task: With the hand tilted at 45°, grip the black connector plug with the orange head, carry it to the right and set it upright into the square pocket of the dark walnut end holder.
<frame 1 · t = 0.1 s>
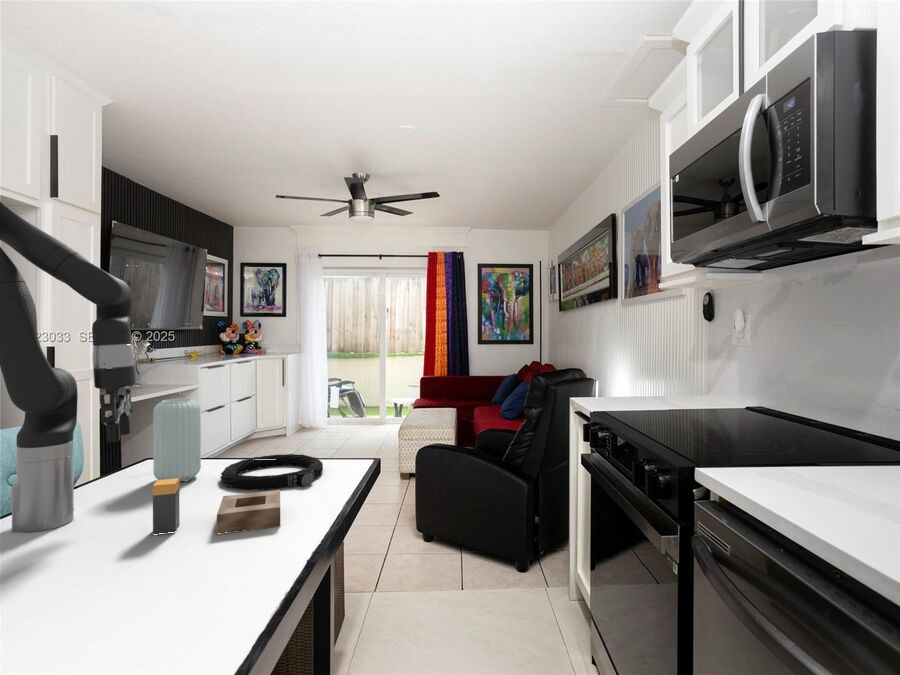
hand: (119, 438, 106), 17 cm above the table, tool pointing down, fingers open, 8 cm apart
connector plug: (166, 530, 98), on the table
end holder: (250, 519, 103), on the table
vase: (177, 480, 133), on the table
cable lock: (276, 478, 136), on the table
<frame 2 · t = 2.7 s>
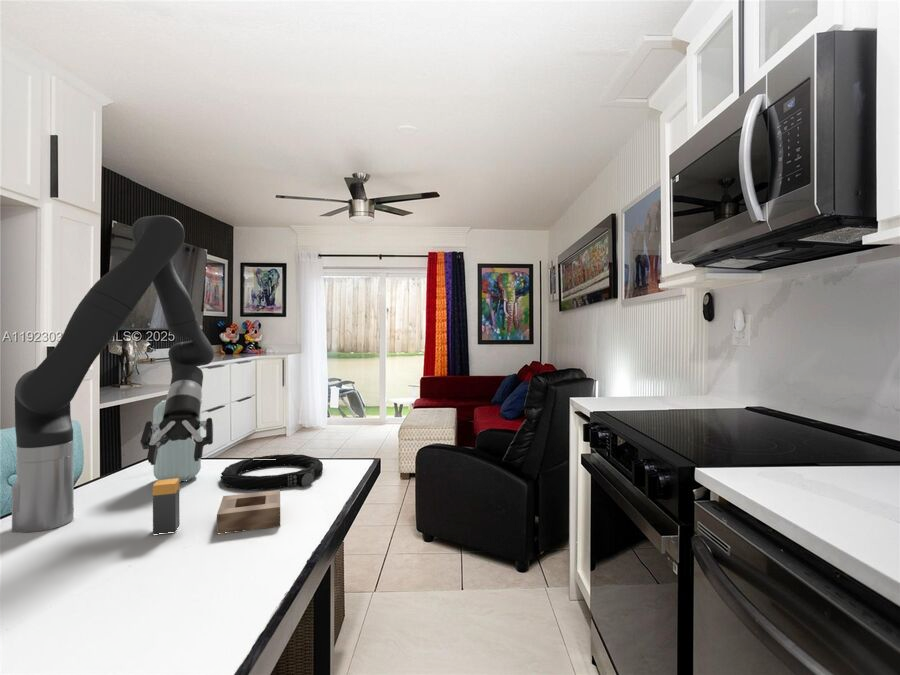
hand: (174, 461, 105), 12 cm above the table, tool tilted 45°, fingers open, 8 cm apart
nothing on the table moved.
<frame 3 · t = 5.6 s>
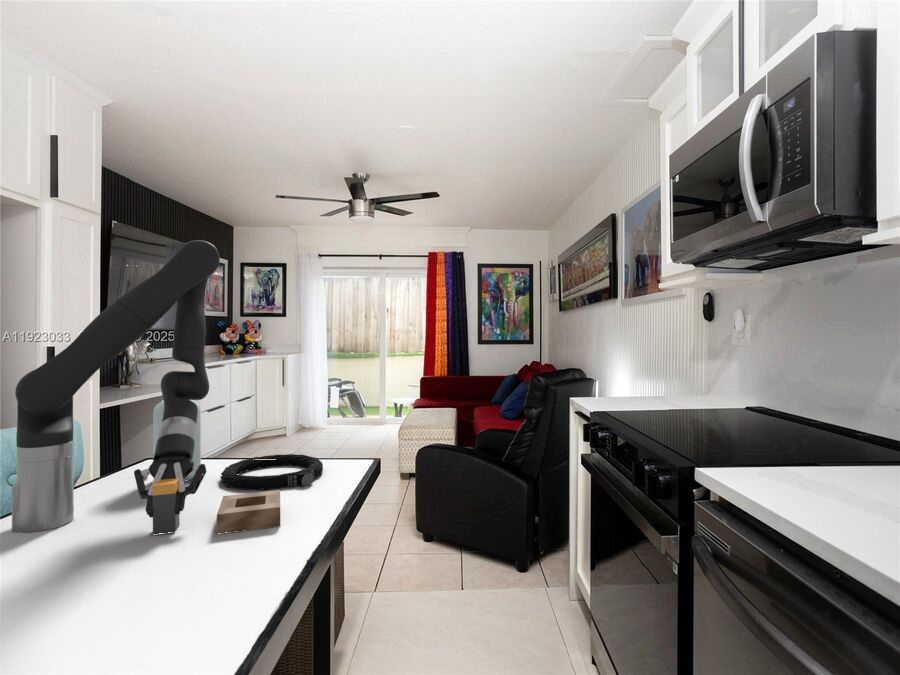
hand: (164, 513, 96), 4 cm above the table, tool tilted 45°, fingers closed on connector plug, 4 cm apart
connector plug: (166, 530, 98), on the table, touching gripper
everything else where it was.
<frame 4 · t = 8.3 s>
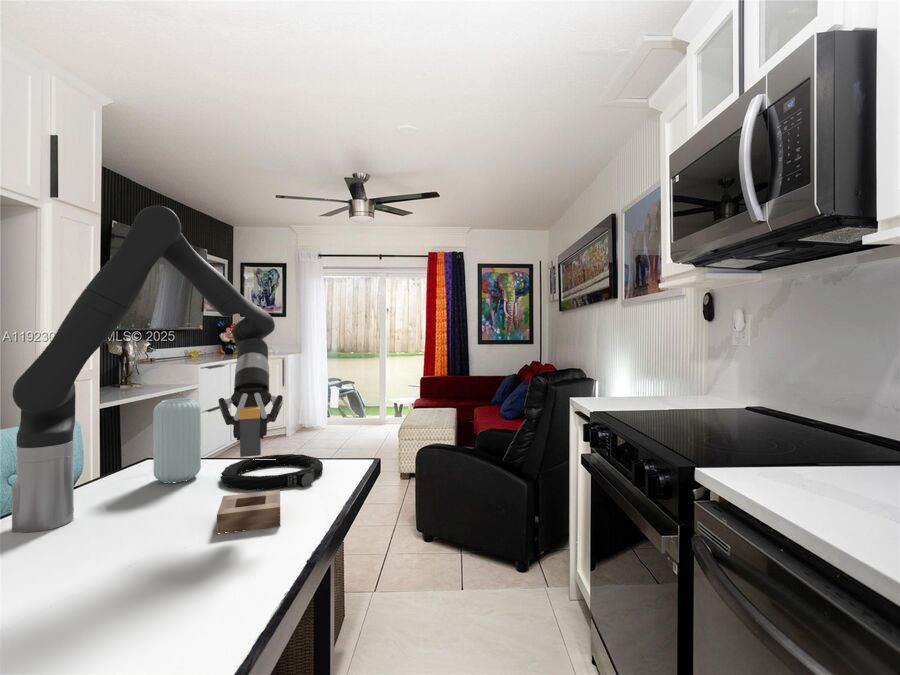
hand: (250, 437, 101), 18 cm above the table, tool tilted 45°, fingers closed on connector plug, 4 cm apart
connector plug: (250, 454, 103), point 14 cm above the table, touching gripper
everything else where it was.
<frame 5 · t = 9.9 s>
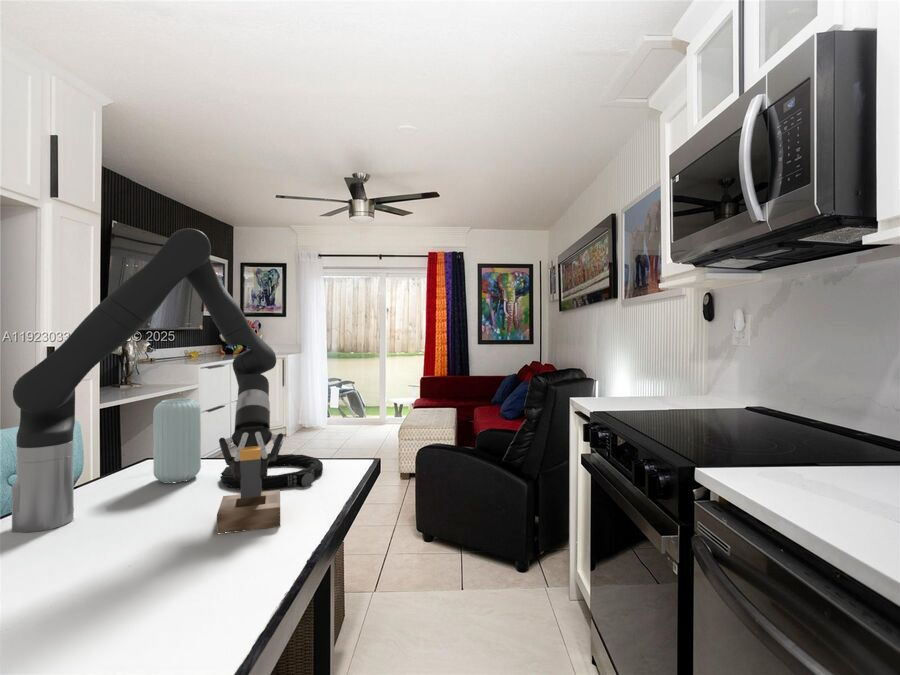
hand: (250, 478, 101), 9 cm above the table, tool tilted 45°, fingers closed on connector plug, 4 cm apart
connector plug: (251, 494, 103), point 5 cm above the table, touching gripper
everything else where it was.
when the fingers open (6 cm above the table, at t = 11.0 s): connector plug stays where it is, resting on end holder.
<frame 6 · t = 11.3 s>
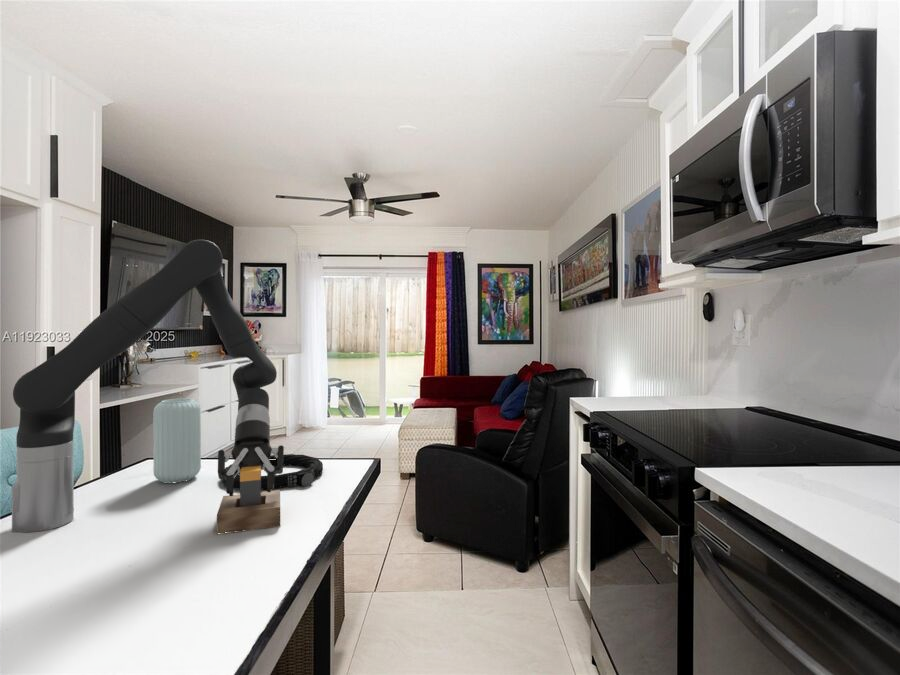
hand: (250, 492, 102), 6 cm above the table, tool tilted 45°, fingers open, 7 cm apart
connector plug: (251, 515, 103), point 1 cm above the table, touching end holder
everything else where it was.
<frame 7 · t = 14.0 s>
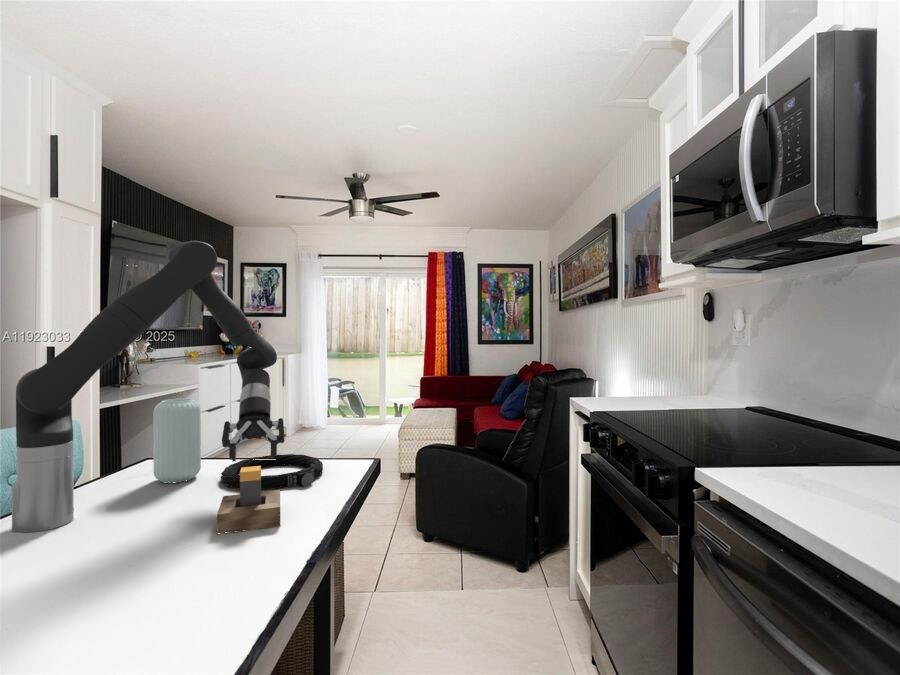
hand: (253, 458, 114), 11 cm above the table, tool tilted 45°, fingers open, 8 cm apart
nothing on the table moved.
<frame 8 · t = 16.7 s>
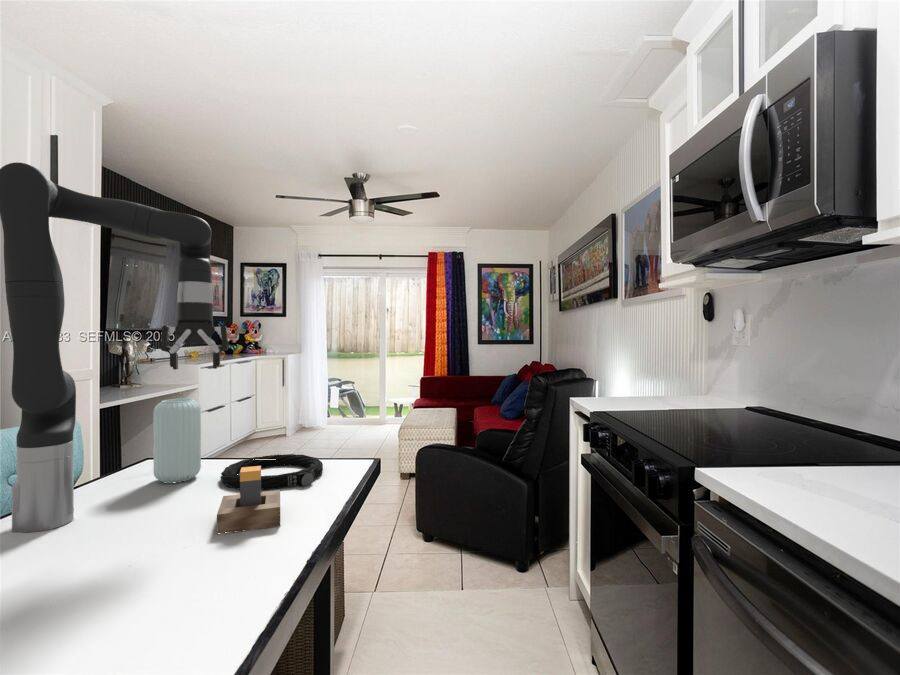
hand: (195, 368, 115), 32 cm above the table, tool pointing down, fingers open, 8 cm apart
nothing on the table moved.
at the end: connector plug 0.0 cm off-centre on the end holder, point 1.0 cm above the end holder's base; connector plug tilted 0°; the gripper is holding nothing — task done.
